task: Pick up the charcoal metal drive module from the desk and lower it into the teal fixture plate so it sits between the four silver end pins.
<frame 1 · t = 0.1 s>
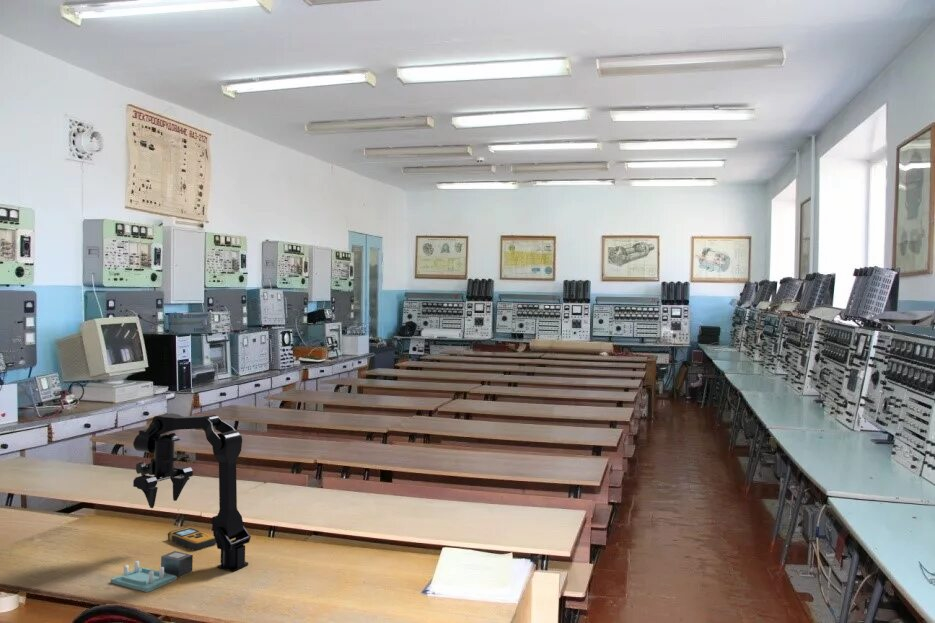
hand: (163, 504, 227), 15 cm above the table, fingers open, 9 cm apart
drive: (176, 572, 210), on the table
electronic device: (192, 544, 236), on the table
teal fixture plate: (143, 581, 203), on the table
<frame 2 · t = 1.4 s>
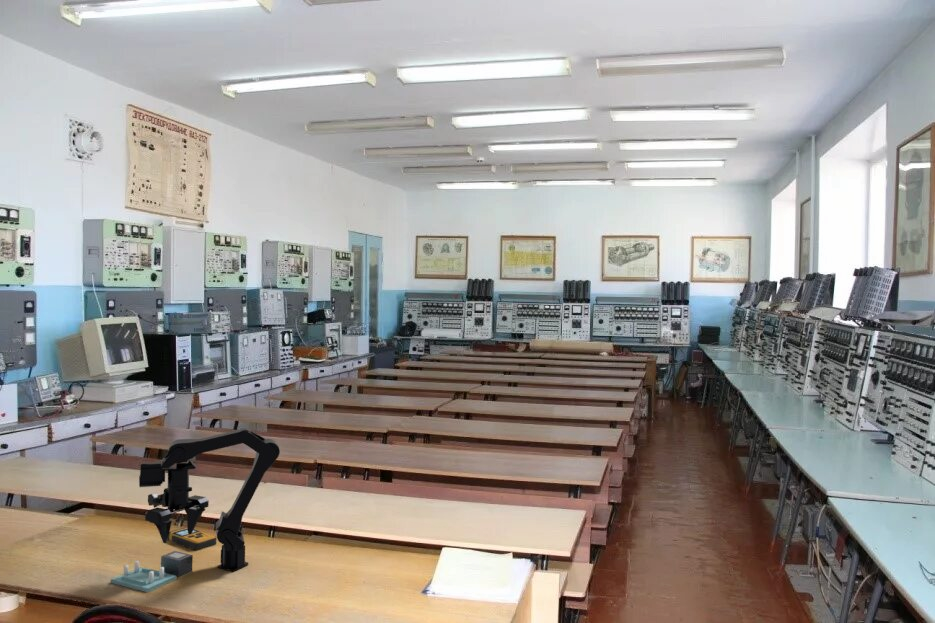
hand: (177, 538, 210), 10 cm above the table, fingers open, 9 cm apart
nothing on the table moved.
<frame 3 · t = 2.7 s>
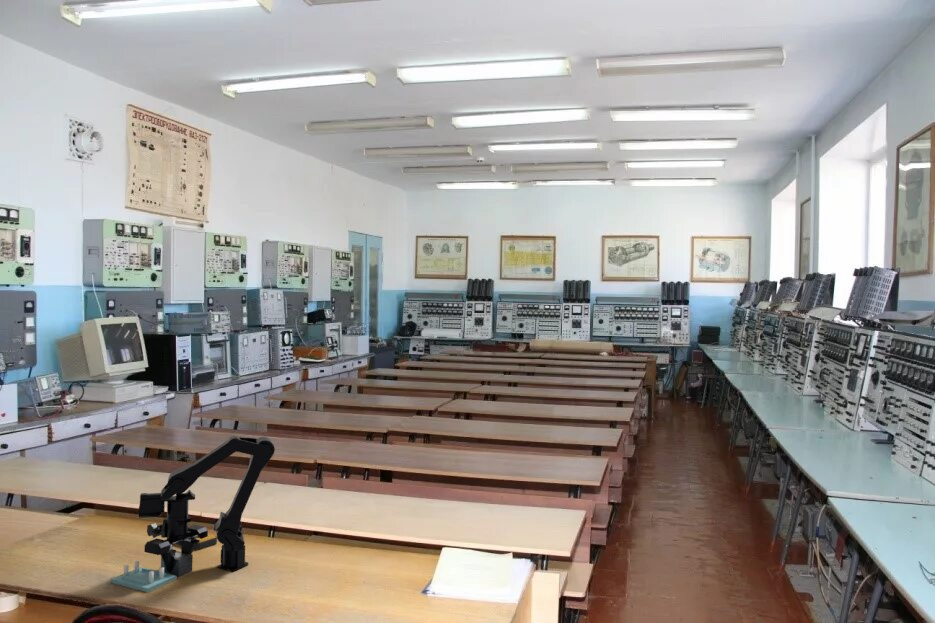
hand: (176, 568, 210), 1 cm above the table, fingers closed on drive, 5 cm apart
drive: (176, 572, 210), on the table, touching gripper
everything else where it was.
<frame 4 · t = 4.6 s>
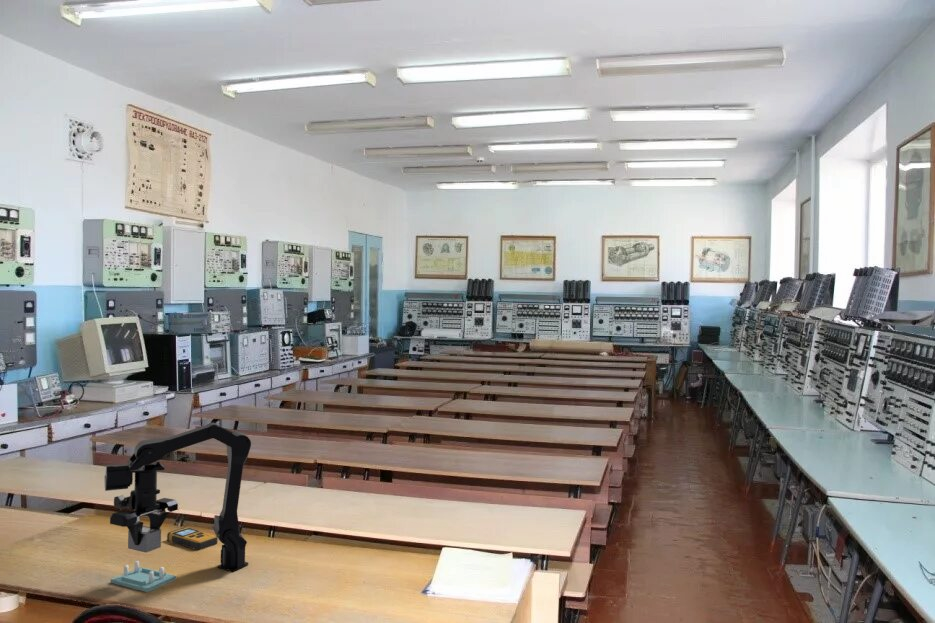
hand: (144, 542, 203), 11 cm above the table, fingers closed on drive, 5 cm apart
drive: (144, 547, 203), point 9 cm above the table, touching gripper
everything else where it was.
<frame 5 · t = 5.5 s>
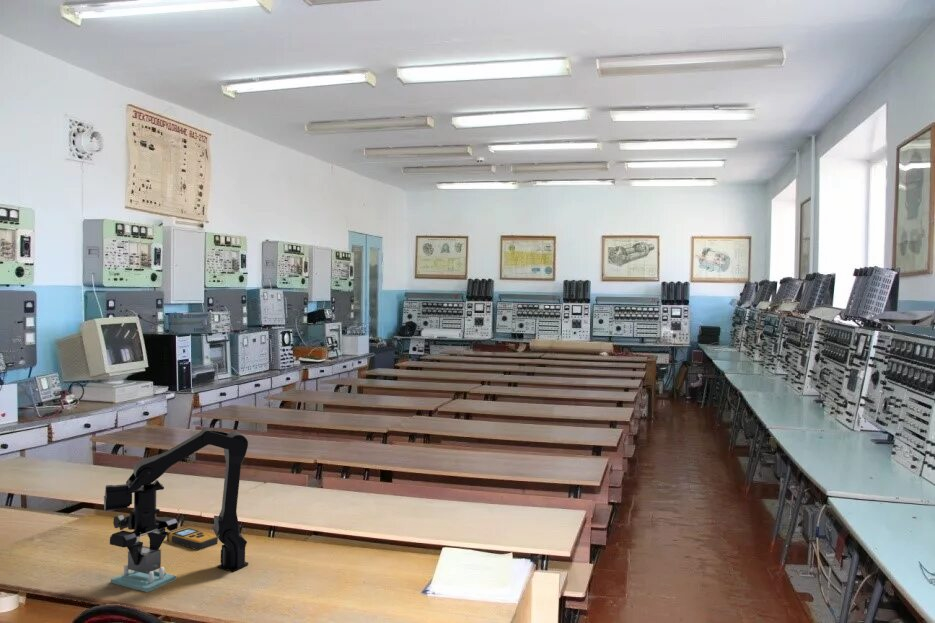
hand: (144, 561, 203), 5 cm above the table, fingers closed on drive, 5 cm apart
drive: (144, 568, 203), point 4 cm above the table, touching gripper
everything else where it was.
when the fingers open (3 cm above the table, at t = 6.3 s): drive stays where it is, resting on teal fixture plate.
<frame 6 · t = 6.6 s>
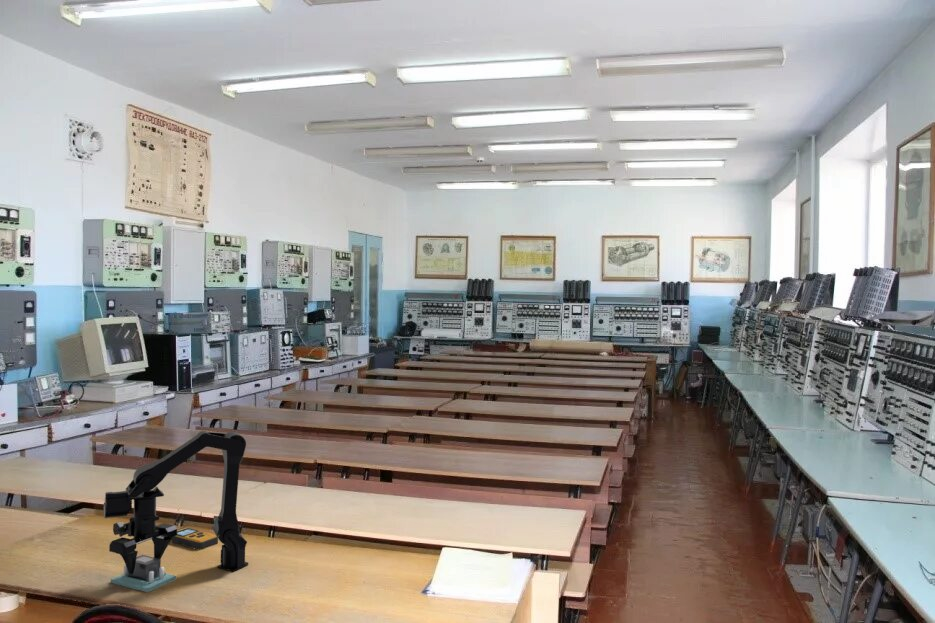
hand: (144, 568, 203), 3 cm above the table, fingers open, 8 cm apart
drive: (143, 577, 203), point 1 cm above the table, touching teal fixture plate
everything else where it was.
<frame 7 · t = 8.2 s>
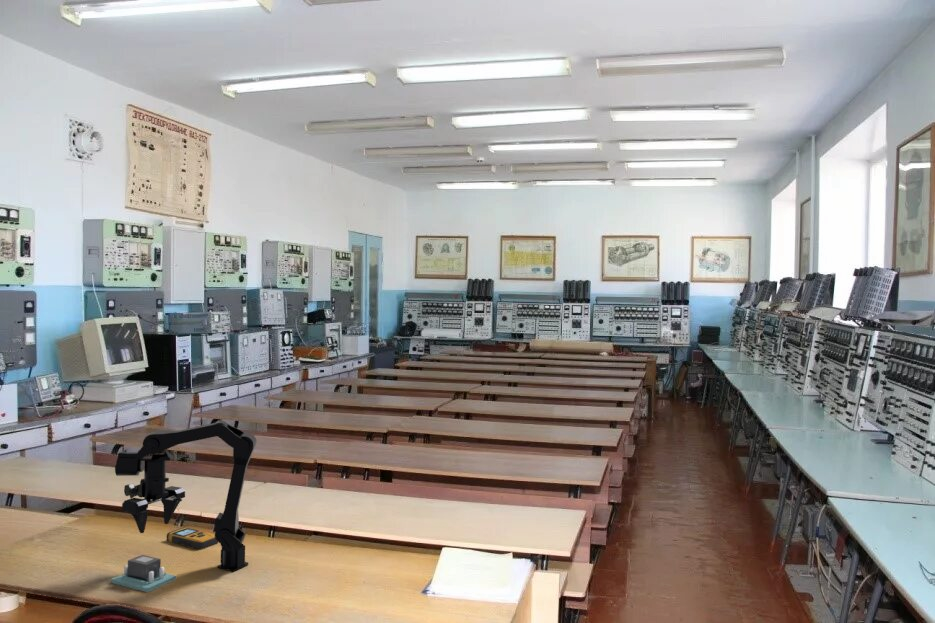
hand: (154, 528, 212), 12 cm above the table, fingers open, 9 cm apart
nothing on the table moved.
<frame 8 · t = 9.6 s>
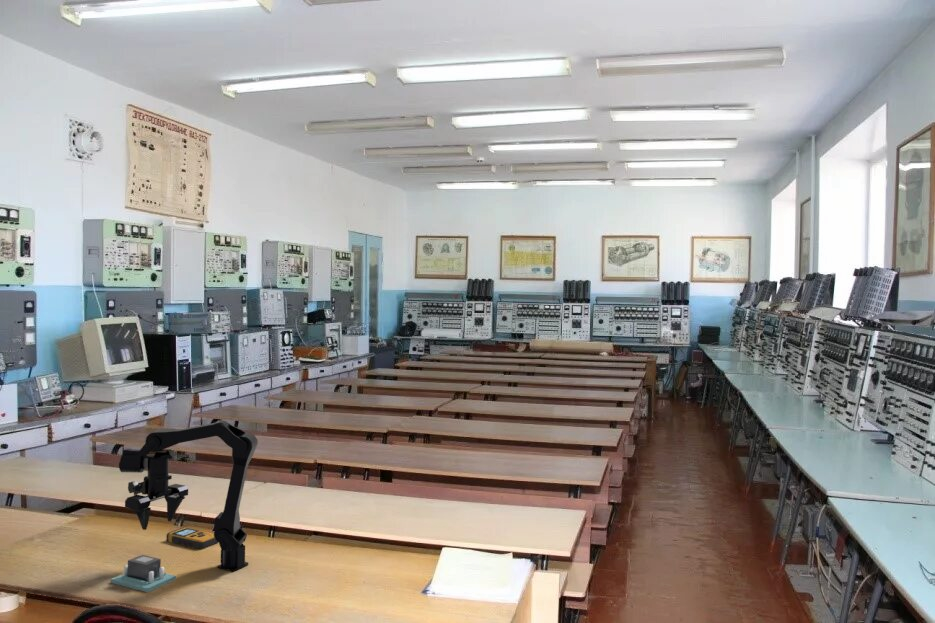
hand: (157, 525, 215), 12 cm above the table, fingers open, 9 cm apart
nothing on the table moved.
at the end: drive 0.1 cm off-centre on the teal fixture plate, point 1.0 cm above the teal fixture plate's base; drive tilted 0°; the gripper is holding nothing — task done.
